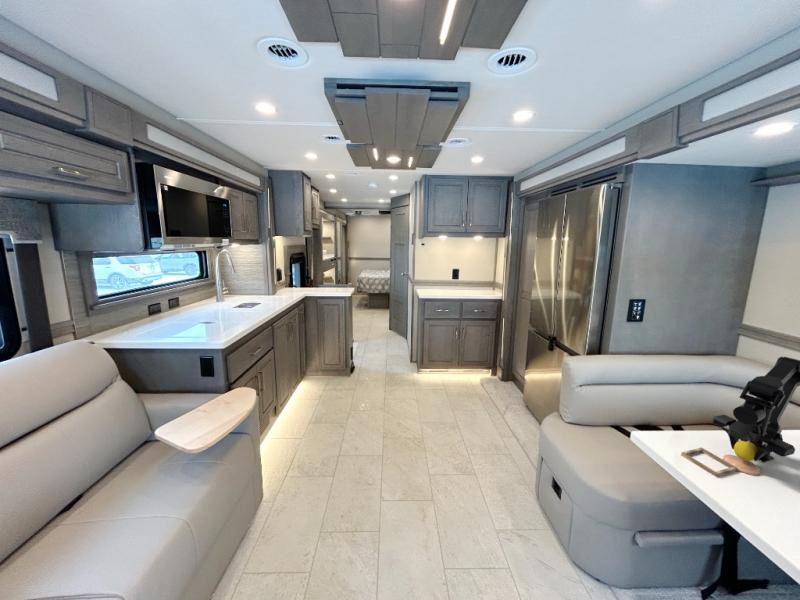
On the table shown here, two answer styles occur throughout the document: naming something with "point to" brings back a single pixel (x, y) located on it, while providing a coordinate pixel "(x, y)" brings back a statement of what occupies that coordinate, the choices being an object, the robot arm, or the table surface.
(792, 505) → the table surface
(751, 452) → the lemon
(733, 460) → the saucer
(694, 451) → the wooden picture frame
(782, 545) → the table surface
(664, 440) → the table surface
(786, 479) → the table surface
